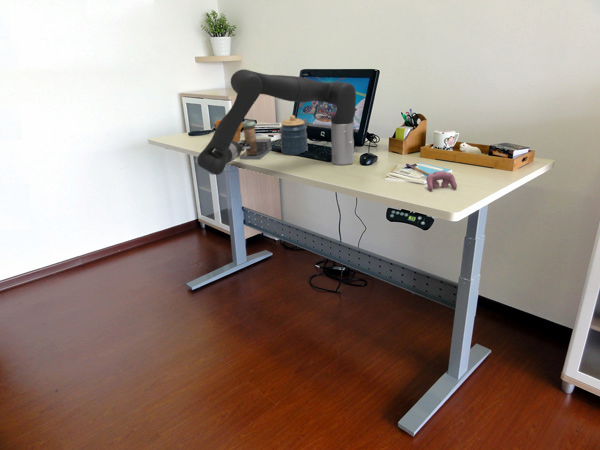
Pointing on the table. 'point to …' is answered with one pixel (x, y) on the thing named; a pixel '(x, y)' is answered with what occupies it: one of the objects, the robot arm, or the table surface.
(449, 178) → the video game controller
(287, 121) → the canister
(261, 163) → the table surface
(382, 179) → the table surface
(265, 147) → the mount
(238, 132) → the flower pot
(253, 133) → the brown capped cylinder
